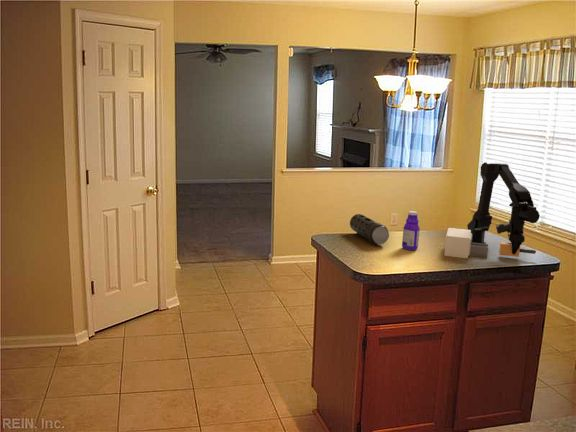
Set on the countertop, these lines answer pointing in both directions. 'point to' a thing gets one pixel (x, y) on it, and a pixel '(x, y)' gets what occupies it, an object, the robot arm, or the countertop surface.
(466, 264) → the countertop surface
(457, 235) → the socket box
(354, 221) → the muzzle brake
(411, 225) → the bottle
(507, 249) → the plug
